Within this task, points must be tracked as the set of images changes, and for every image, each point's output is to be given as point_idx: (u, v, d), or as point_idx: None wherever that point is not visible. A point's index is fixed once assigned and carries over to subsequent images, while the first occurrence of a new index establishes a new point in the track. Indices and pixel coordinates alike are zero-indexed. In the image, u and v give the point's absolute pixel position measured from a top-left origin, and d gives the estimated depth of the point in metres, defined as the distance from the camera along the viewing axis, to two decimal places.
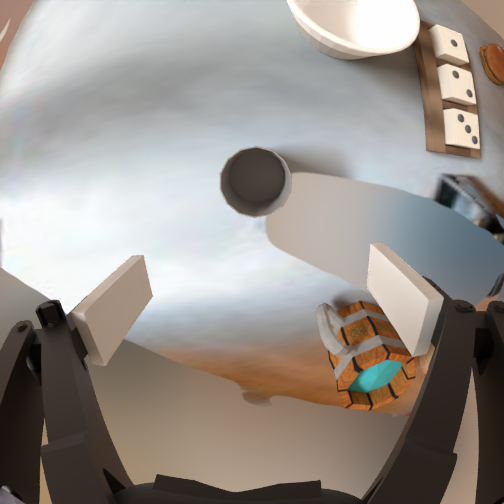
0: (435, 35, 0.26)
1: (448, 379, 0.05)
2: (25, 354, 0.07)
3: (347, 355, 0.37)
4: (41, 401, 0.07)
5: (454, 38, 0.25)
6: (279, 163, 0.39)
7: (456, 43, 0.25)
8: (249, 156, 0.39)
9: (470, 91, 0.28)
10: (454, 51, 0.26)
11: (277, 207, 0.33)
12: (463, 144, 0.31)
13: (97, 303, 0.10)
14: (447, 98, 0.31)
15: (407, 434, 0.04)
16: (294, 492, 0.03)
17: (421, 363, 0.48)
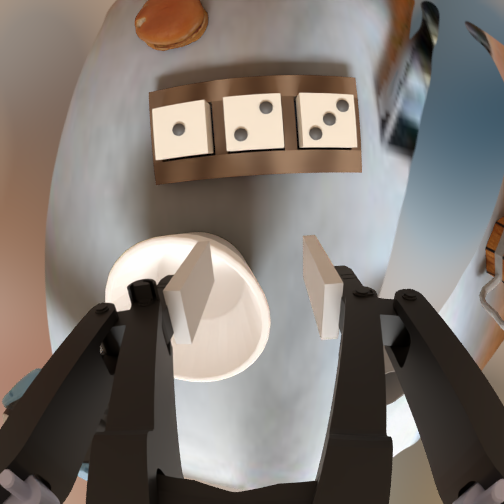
0: (175, 157, 0.29)
1: (360, 366, 0.06)
2: (99, 341, 0.08)
3: None
4: (107, 390, 0.08)
5: (168, 127, 0.27)
6: None
7: (178, 126, 0.27)
8: None
9: (262, 106, 0.26)
10: (195, 130, 0.27)
11: None
12: (354, 131, 0.26)
13: (187, 282, 0.12)
14: None
15: (331, 428, 0.05)
16: (294, 492, 0.03)
17: None
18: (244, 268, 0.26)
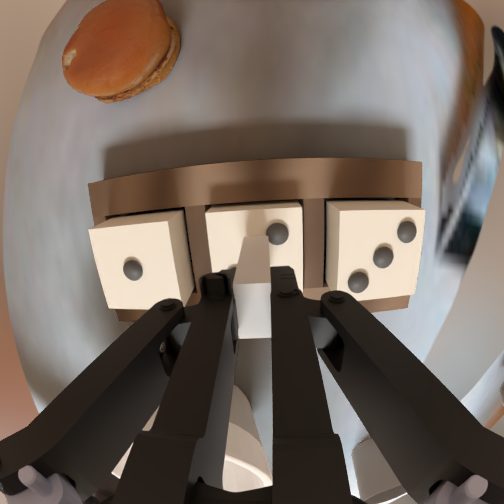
0: None
1: (293, 367, 0.06)
2: (160, 340, 0.08)
3: None
4: (160, 392, 0.08)
5: (116, 263, 0.17)
6: (372, 441, 0.30)
7: (131, 265, 0.17)
8: None
9: (271, 232, 0.17)
10: (159, 274, 0.17)
11: None
12: (415, 272, 0.16)
13: None
14: None
15: (274, 433, 0.05)
16: None
17: None
18: (243, 461, 0.16)
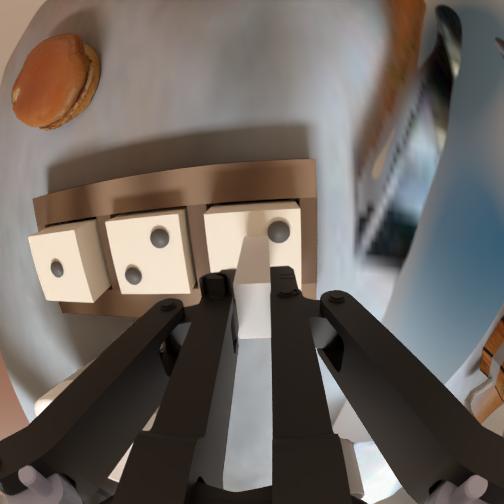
0: None
1: (293, 367, 0.06)
2: (160, 340, 0.08)
3: None
4: (161, 392, 0.08)
5: (46, 264, 0.18)
6: None
7: (55, 265, 0.18)
8: None
9: (153, 236, 0.19)
10: (73, 272, 0.18)
11: (360, 490, 0.24)
12: (298, 272, 0.18)
13: None
14: (195, 277, 0.22)
15: (273, 433, 0.05)
16: None
17: None
18: None
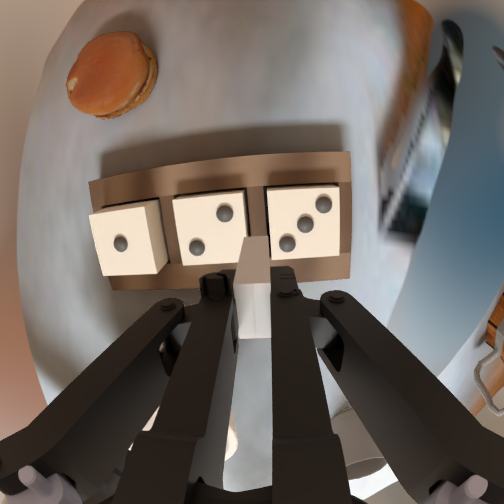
0: None
1: (293, 367, 0.06)
2: (160, 340, 0.08)
3: None
4: (161, 392, 0.08)
5: (109, 240, 0.22)
6: None
7: (119, 240, 0.22)
8: None
9: (219, 212, 0.23)
10: (139, 246, 0.23)
11: None
12: (337, 237, 0.23)
13: None
14: None
15: (274, 433, 0.05)
16: None
17: None
18: None
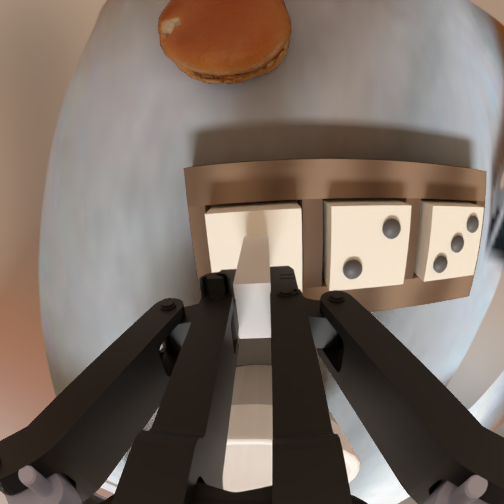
0: None
1: (293, 367, 0.06)
2: (160, 340, 0.08)
3: None
4: (161, 392, 0.08)
5: (237, 251, 0.18)
6: None
7: None
8: None
9: (387, 226, 0.17)
10: (284, 260, 0.18)
11: None
12: (475, 256, 0.18)
13: None
14: None
15: (274, 433, 0.05)
16: None
17: None
18: (347, 451, 0.16)
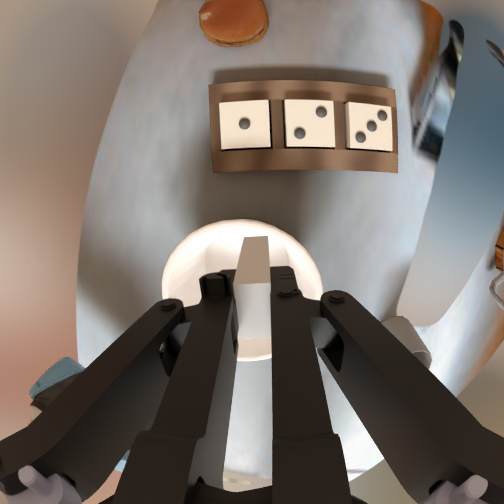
0: None
1: (293, 367, 0.06)
2: (160, 340, 0.08)
3: None
4: (161, 392, 0.08)
5: (234, 120, 0.31)
6: None
7: (244, 120, 0.31)
8: None
9: (318, 110, 0.30)
10: (259, 126, 0.31)
11: (429, 353, 0.35)
12: (390, 137, 0.30)
13: None
14: None
15: (274, 433, 0.05)
16: None
17: None
18: (305, 251, 0.29)
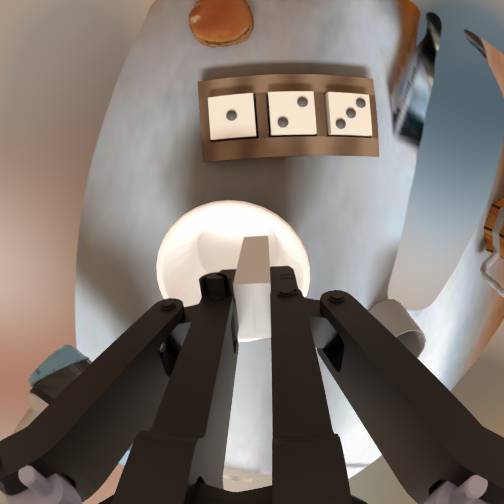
0: (226, 138, 0.35)
1: (293, 367, 0.06)
2: (160, 340, 0.08)
3: None
4: (161, 392, 0.08)
5: (222, 113, 0.33)
6: None
7: (231, 112, 0.33)
8: None
9: (299, 100, 0.32)
10: (245, 117, 0.33)
11: (422, 334, 0.37)
12: (370, 123, 0.32)
13: None
14: None
15: (274, 433, 0.05)
16: None
17: None
18: (291, 228, 0.31)
